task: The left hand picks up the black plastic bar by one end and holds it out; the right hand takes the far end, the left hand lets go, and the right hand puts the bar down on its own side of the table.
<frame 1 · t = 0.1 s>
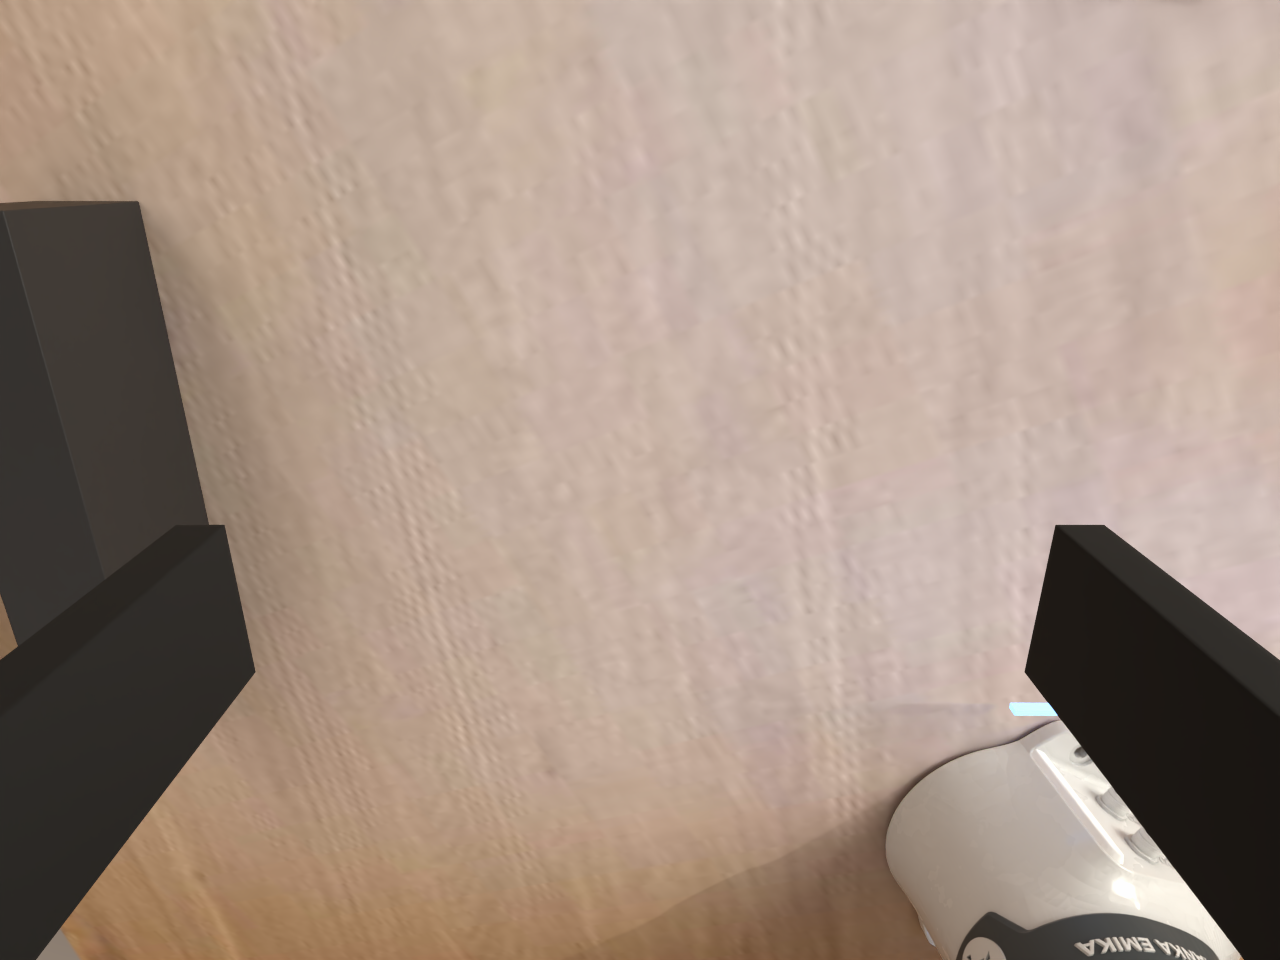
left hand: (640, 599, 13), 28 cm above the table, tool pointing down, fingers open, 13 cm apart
bar: (149, 461, 42), on the table
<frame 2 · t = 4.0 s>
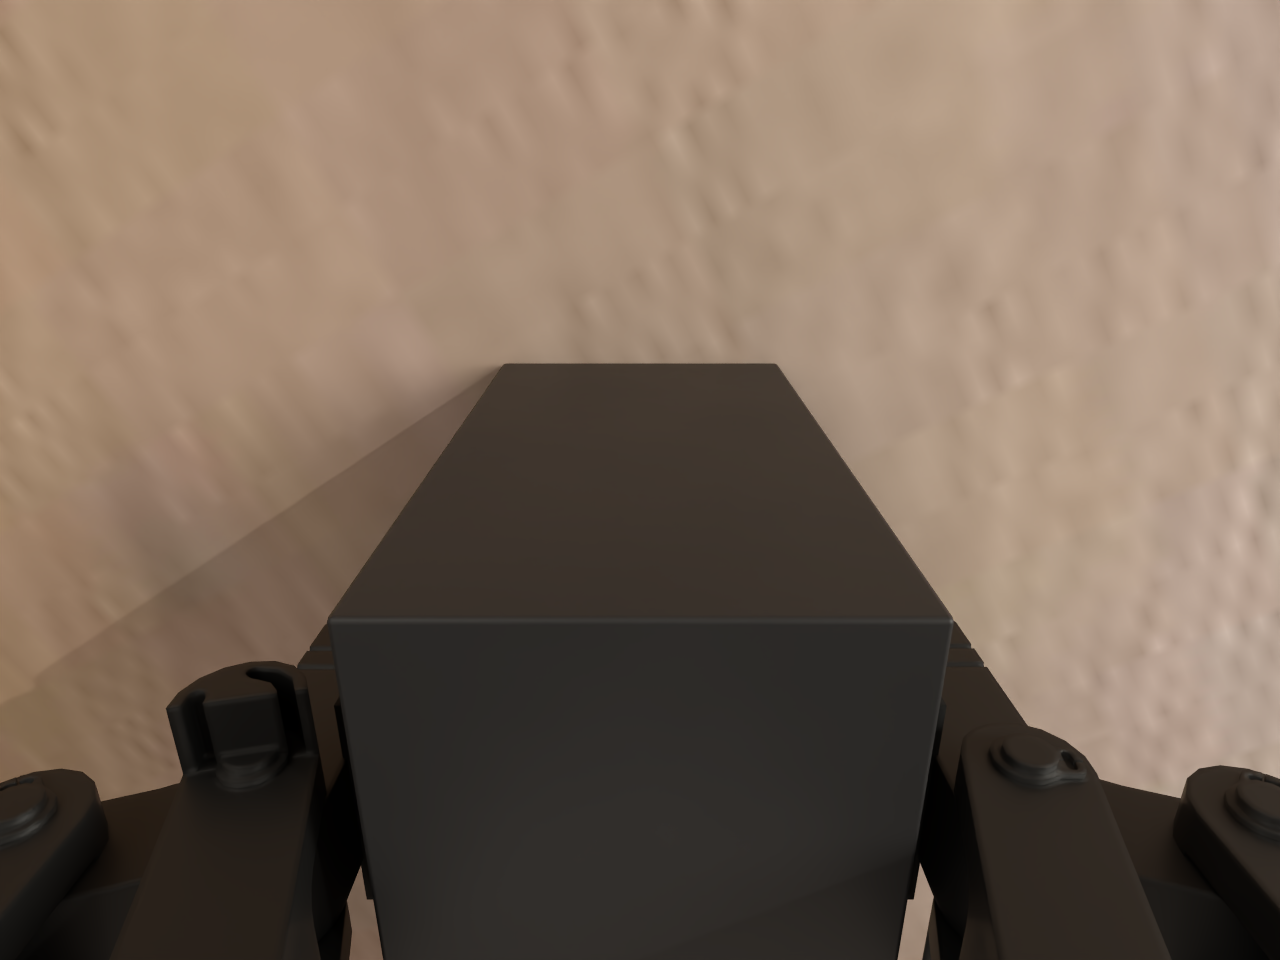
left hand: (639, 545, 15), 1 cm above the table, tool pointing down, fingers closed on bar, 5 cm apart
bar: (640, 903, 19), on the table, touching left hand
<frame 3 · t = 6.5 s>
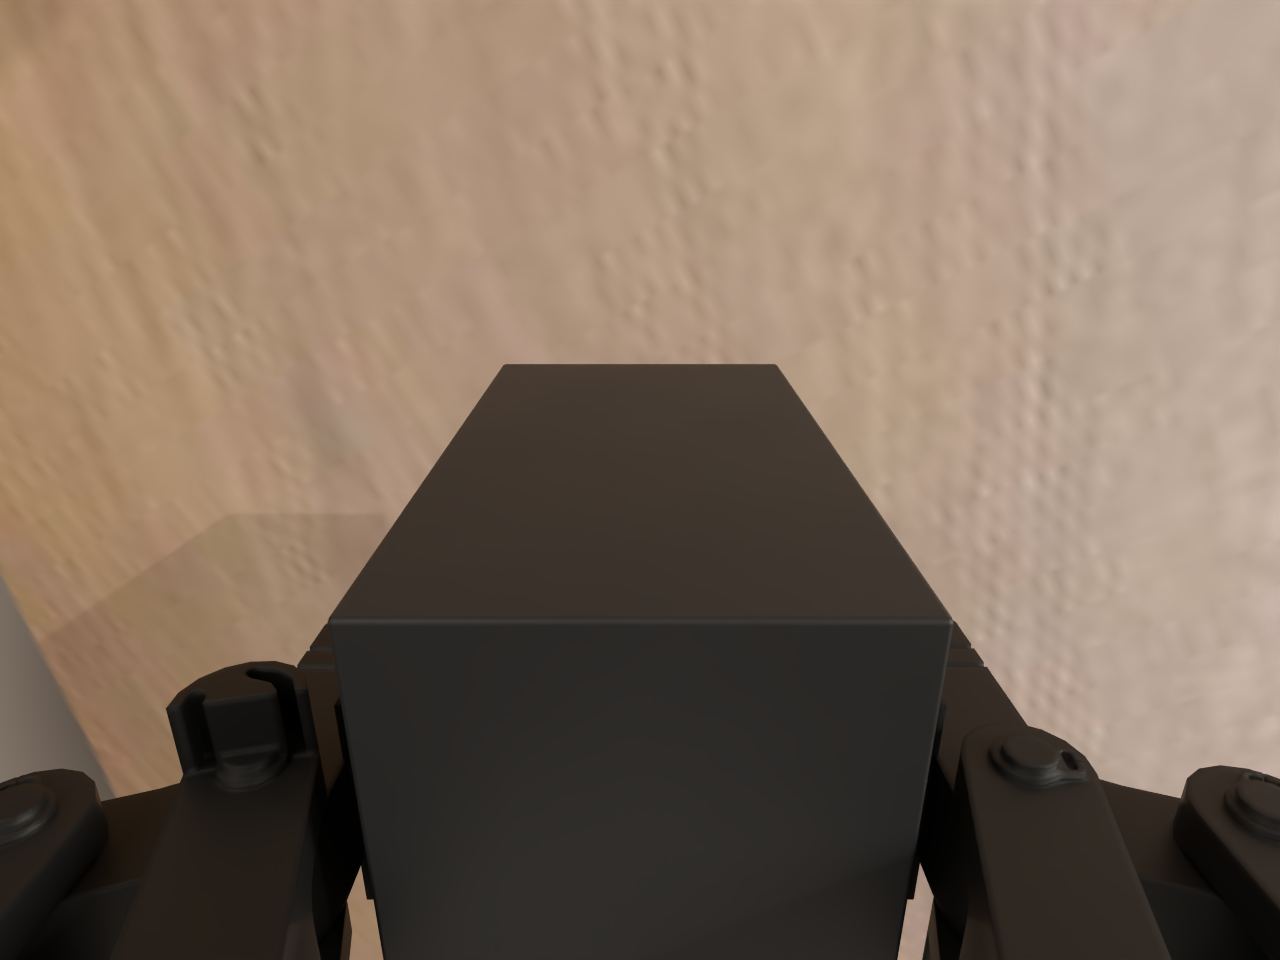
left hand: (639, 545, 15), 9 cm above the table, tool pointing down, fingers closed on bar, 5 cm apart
bar: (640, 903, 19), point 8 cm above the table, touching left hand
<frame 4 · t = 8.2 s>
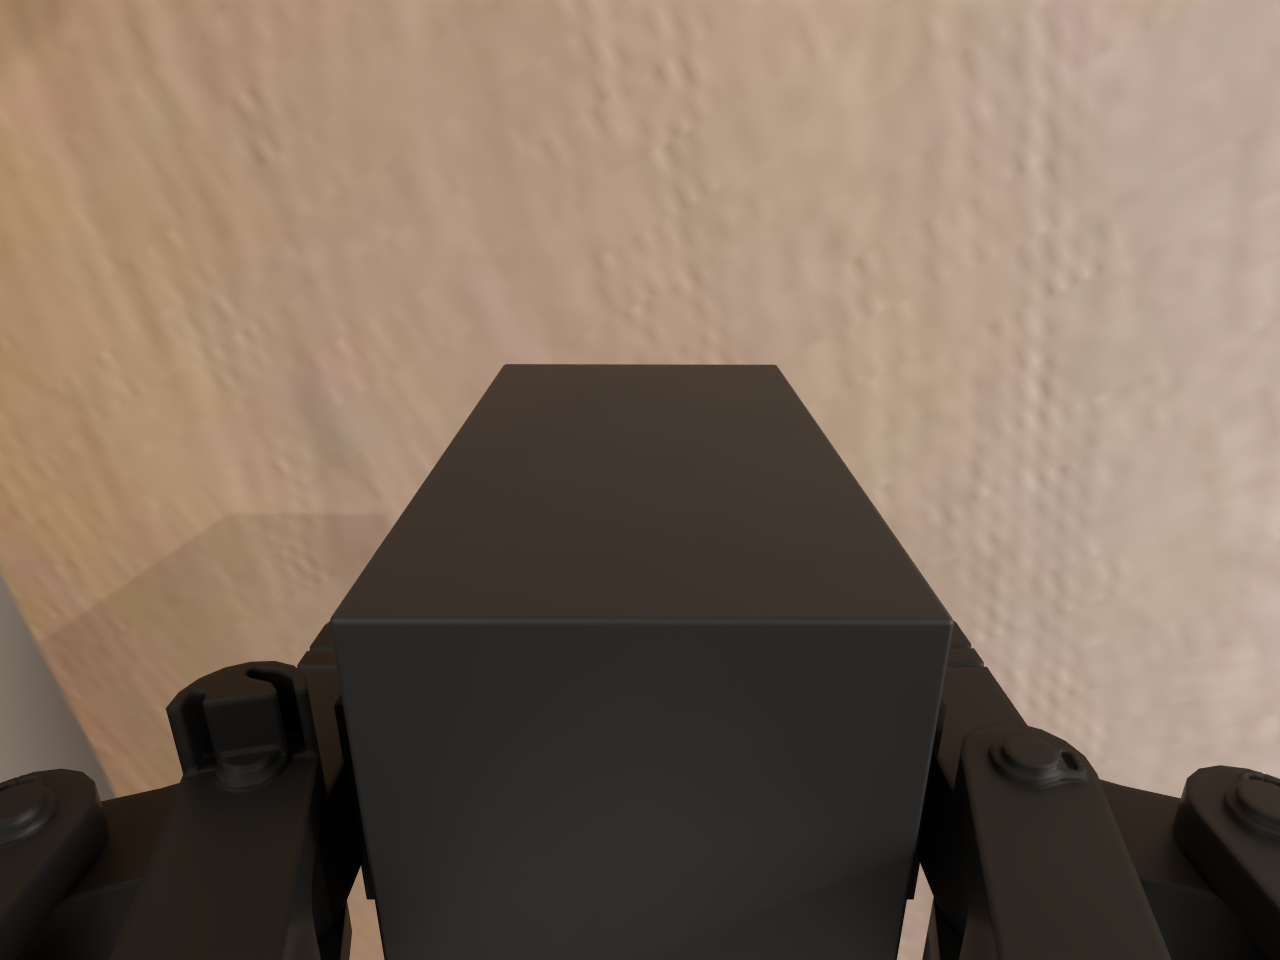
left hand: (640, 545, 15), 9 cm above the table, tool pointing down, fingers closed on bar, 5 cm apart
bar: (639, 902, 19), point 8 cm above the table, touching left hand, right hand
when the left hand's fingers open (9 cm above the table, at t = 9.1 s): bar stays where it is, held by the right hand.
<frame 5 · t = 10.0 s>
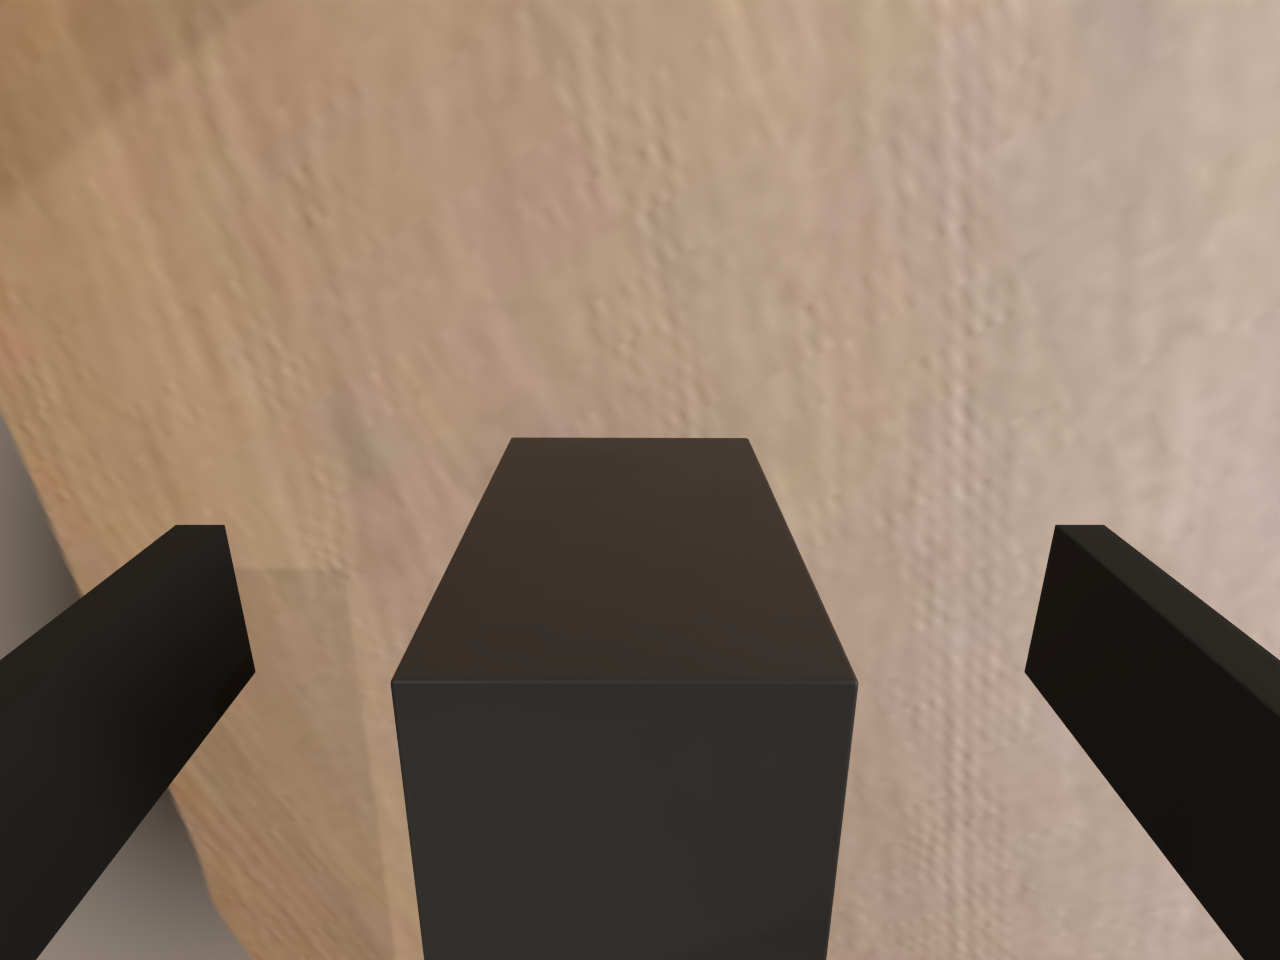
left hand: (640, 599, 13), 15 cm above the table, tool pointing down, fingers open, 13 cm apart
bar: (629, 914, 21), point 11 cm above the table, touching right hand
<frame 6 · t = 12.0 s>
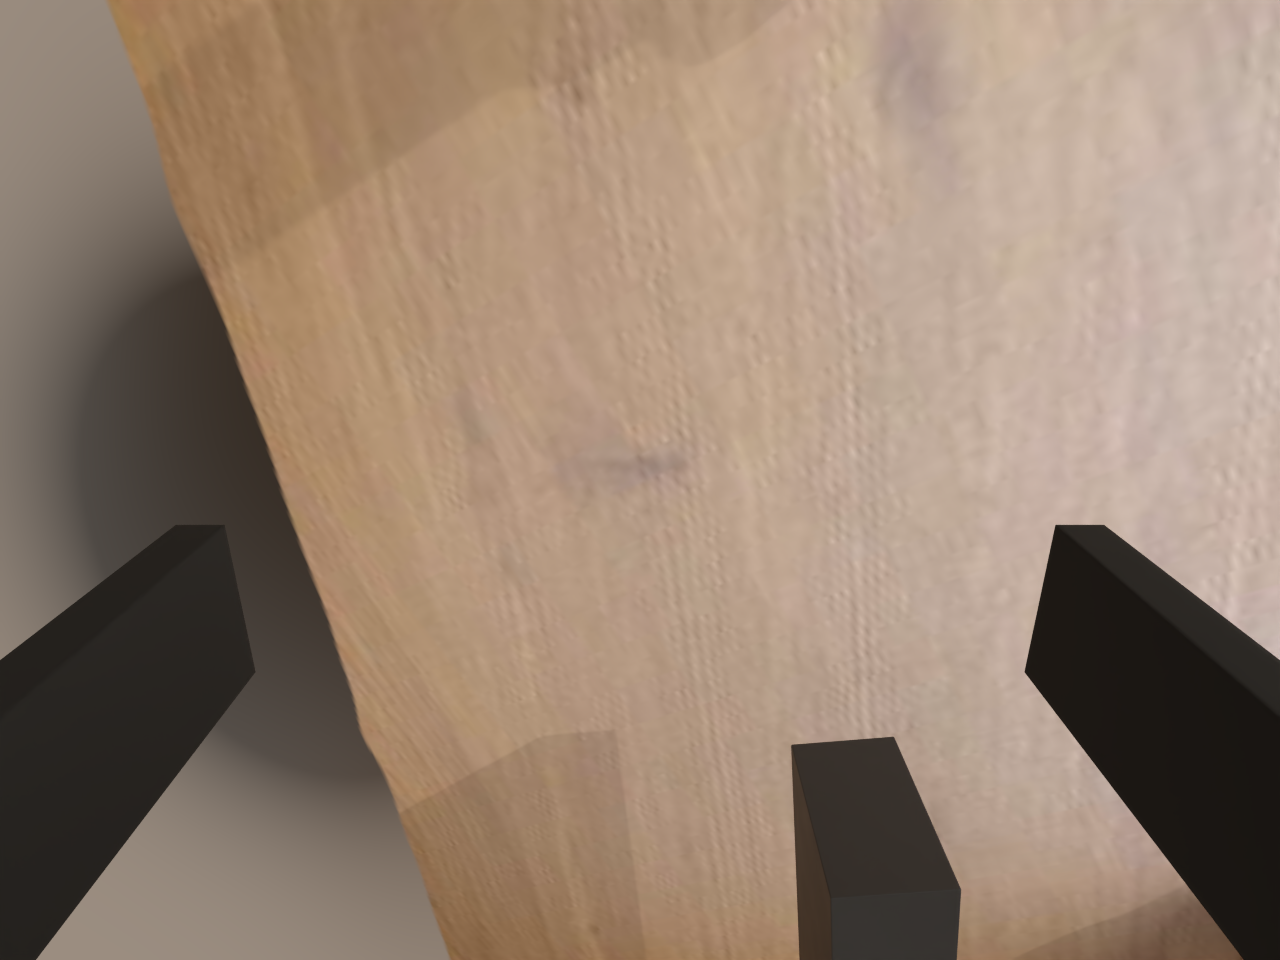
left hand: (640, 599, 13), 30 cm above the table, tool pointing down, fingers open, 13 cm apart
bar: (844, 936, 42), point 11 cm above the table, touching right hand
when the right hand's fingers open (5 cm above the table, at t = 13.8 s): bar stays where it is, on the table.
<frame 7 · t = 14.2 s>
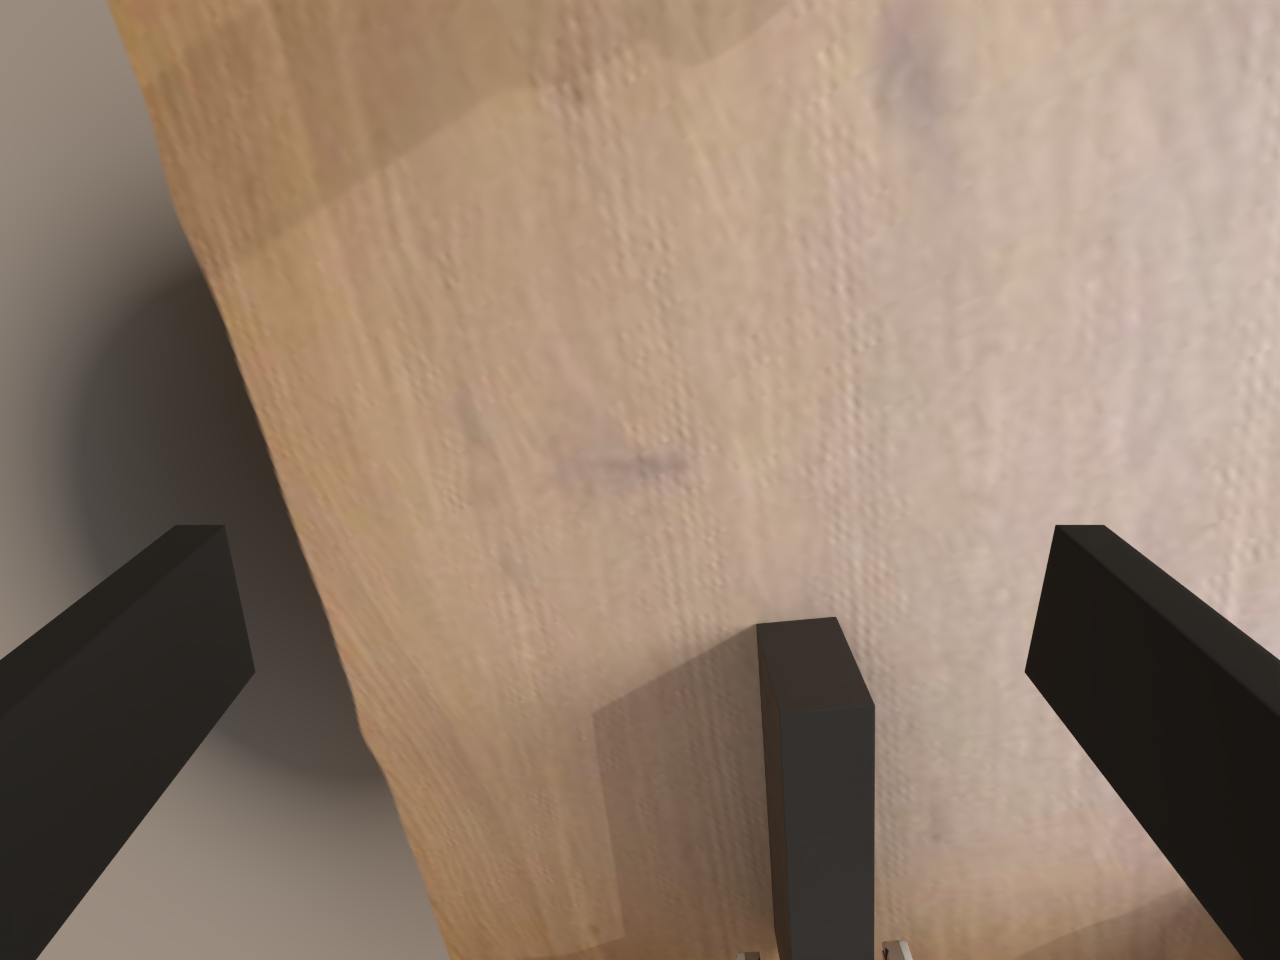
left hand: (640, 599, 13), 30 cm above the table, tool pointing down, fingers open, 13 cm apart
bar: (802, 787, 53), on the table
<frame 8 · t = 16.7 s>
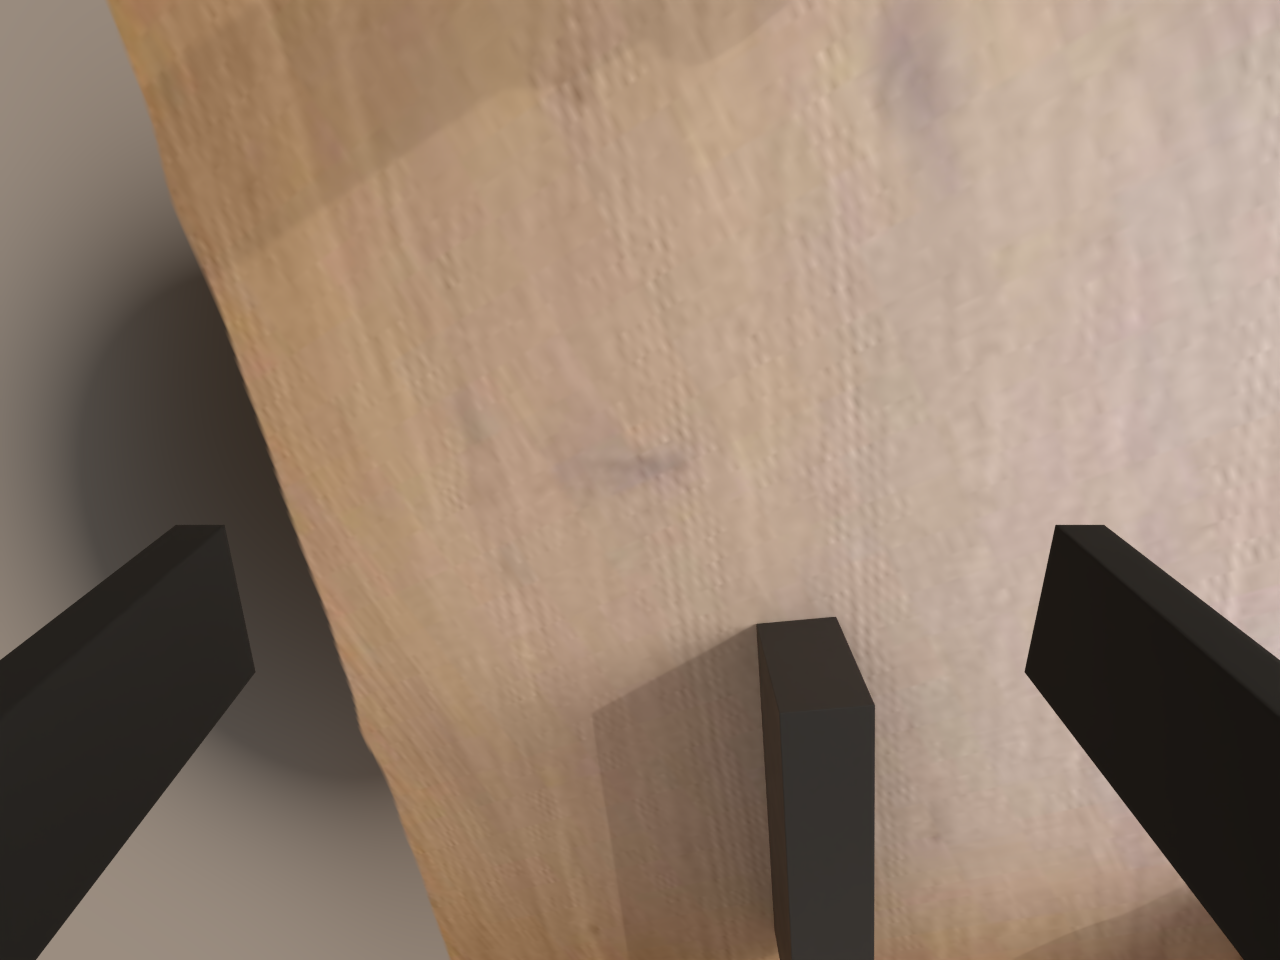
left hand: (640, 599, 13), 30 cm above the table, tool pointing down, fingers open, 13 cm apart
bar: (802, 787, 53), on the table
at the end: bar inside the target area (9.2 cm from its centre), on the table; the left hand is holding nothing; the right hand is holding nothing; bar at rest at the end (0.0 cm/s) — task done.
